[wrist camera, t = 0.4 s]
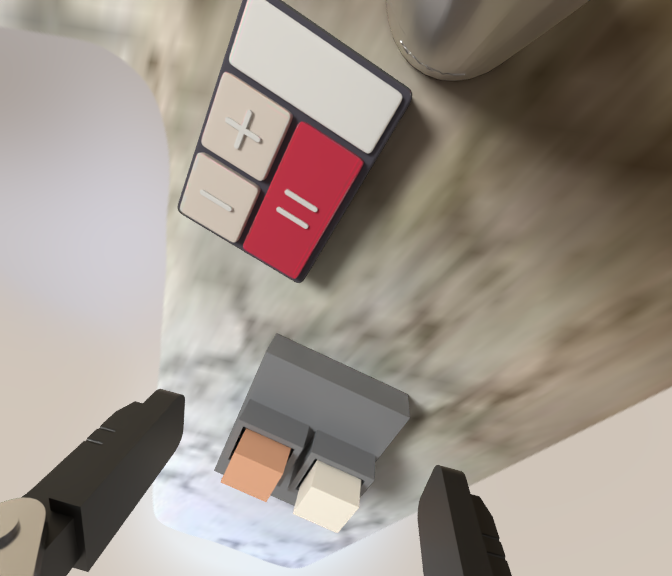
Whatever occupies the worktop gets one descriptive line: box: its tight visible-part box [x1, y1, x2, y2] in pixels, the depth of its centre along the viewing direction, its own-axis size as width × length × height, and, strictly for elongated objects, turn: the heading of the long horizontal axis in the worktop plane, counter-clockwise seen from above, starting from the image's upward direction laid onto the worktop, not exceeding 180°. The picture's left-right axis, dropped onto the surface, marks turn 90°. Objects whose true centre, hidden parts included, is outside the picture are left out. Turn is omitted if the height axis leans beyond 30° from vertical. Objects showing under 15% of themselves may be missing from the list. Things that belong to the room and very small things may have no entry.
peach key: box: [221, 428, 291, 502], centre depth 29 cm, size 4×4×2 cm
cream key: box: [293, 460, 361, 533], centre depth 29 cm, size 4×4×2 cm
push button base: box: [214, 334, 410, 506], centre depth 32 cm, size 18×14×6 cm
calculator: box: [178, 0, 412, 283], centre depth 23 cm, size 11×4×15 cm
